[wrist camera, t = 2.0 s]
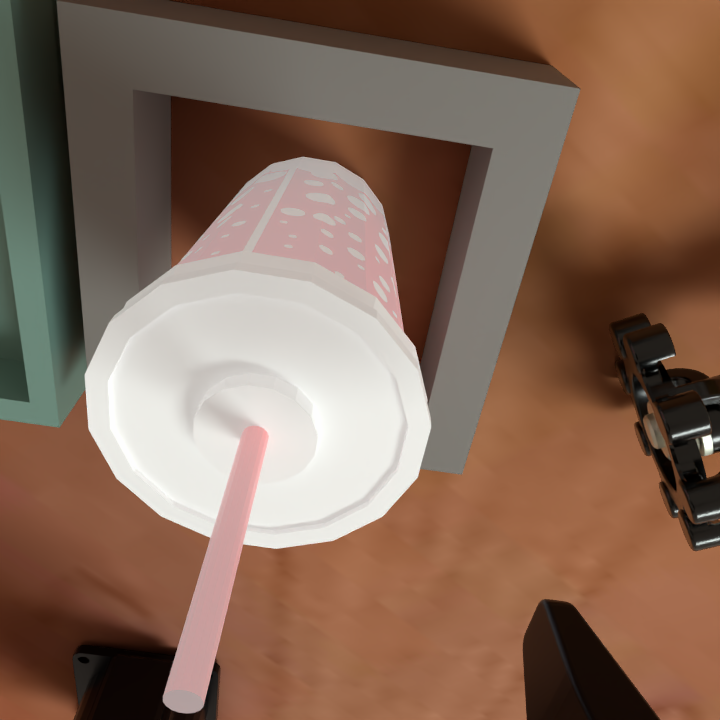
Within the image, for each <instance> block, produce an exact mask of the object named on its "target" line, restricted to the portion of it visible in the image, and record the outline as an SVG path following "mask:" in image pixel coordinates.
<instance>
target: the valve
mask: <svg viewBox="0 0 720 720" xmlns="http://www.w3.org/2000/svg"><path fill="white" fill-rule="evenodd" d="M609 330H610V334H611V338H612V341H613V344H614V347H615V349H616V351H617V354H618V356H619V357H620V358H621V360H617V361H616V362H615V368H616V372H617V375H618V378H619V381H620V384H621V386H622V388H623V390H624V392H625V393H626V394H627V395H630V396H631V399H632V401H633V404H634V407H635V410H636V413H637V417H638V420H639V421H638V422H636V423H635V424H634V427H635V431H636V435H637V438H638V441H639V443H640V446H641V448H642V450H643V452H644V454H645V455H646V456H651V455H652V457H653V460H654V462H655V464H656V467H657V469H658V472H659V475H660V478H661V482H660V483H659V488H660V492H661V495H662V498H663V501H664V504H665V506H666V508H667V511H668V513H669V514H670V516H671V517H672V518H679V522H680V525H681V528H682V530H683V533H684V535H685V538H686V540H687V542H688V544H689V546H690V548H691V549H692V550H693V551H699V550H703V549H708V548H712V547H716V546H720V520H718V519H720V472H719V473H718V474H717V475H715V476H712V477H709V478H706V473H705V469H704V465H703V461H702V458H701V456H707V455H710V454H714V453H718V452H720V375H718V376H714V377H711V378H709V377H708V376H707V375H705V374H704V373H701V372H699V371H696V370H692V369H685V368H675V369H668V370H666V369H665V367H664V366H663V364H662V363H661V361H660V360H663V359H666V358H669V357H673V356H675V355H676V353H675V349H674V345H673V342H672V340H671V337H670V335H669V333H668V331H667V329H666V327H665V326H664V325H663V324H661V323H658V324H655V325H652V326H651V324H650V322H649V320H648V318H647V317H646V315H645V314H643V313H640V314H637V315H634V316H631V317H628V318H625V319H622V320H618V321H615V322H612V323H610V325H609Z"/></svg>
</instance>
